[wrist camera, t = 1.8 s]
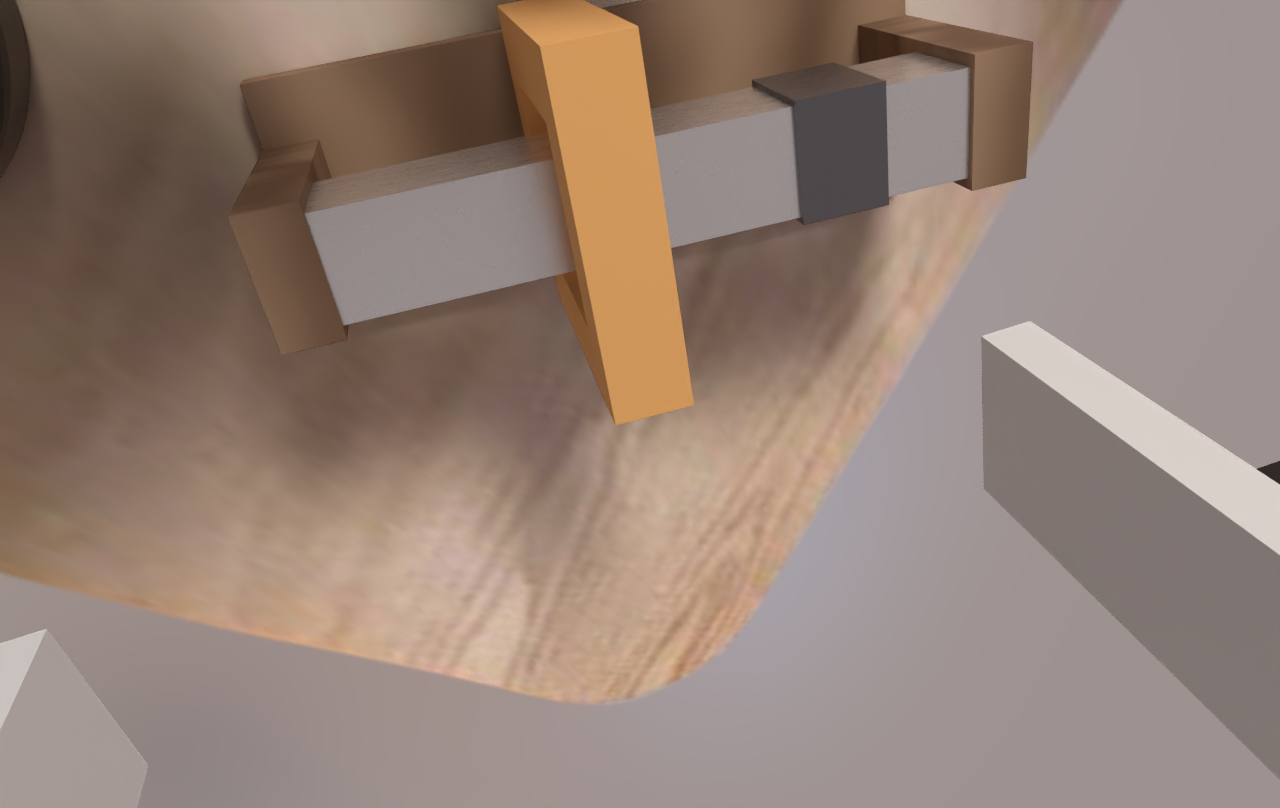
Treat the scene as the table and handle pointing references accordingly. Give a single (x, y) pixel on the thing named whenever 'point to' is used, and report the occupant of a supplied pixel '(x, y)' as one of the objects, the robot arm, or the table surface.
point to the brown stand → (488, 113)
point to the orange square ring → (604, 196)
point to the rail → (689, 169)
